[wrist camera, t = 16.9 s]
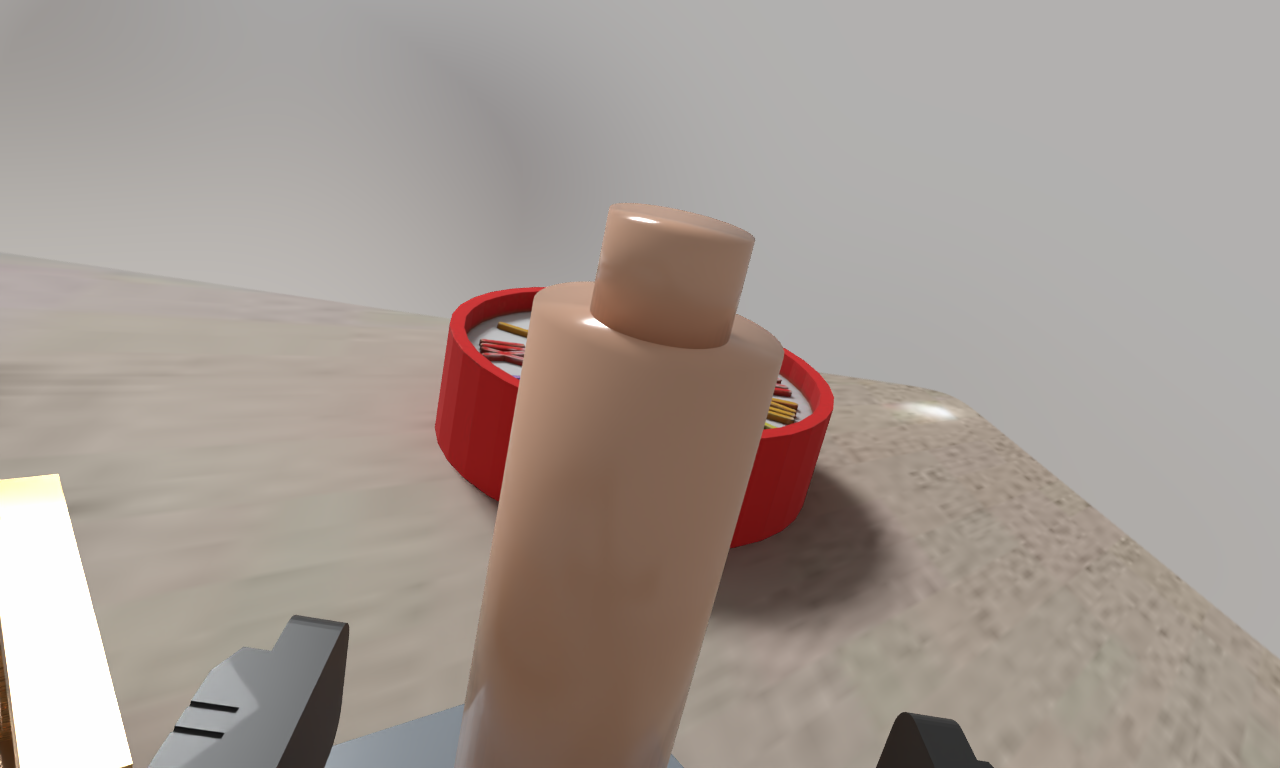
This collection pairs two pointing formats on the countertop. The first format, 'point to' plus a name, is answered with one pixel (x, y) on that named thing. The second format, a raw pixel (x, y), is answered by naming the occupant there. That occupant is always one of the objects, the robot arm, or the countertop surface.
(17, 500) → the golden stepped frame
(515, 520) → the peach bottle
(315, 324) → the countertop surface
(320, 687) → the robot arm
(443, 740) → the pad
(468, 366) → the toy clock
